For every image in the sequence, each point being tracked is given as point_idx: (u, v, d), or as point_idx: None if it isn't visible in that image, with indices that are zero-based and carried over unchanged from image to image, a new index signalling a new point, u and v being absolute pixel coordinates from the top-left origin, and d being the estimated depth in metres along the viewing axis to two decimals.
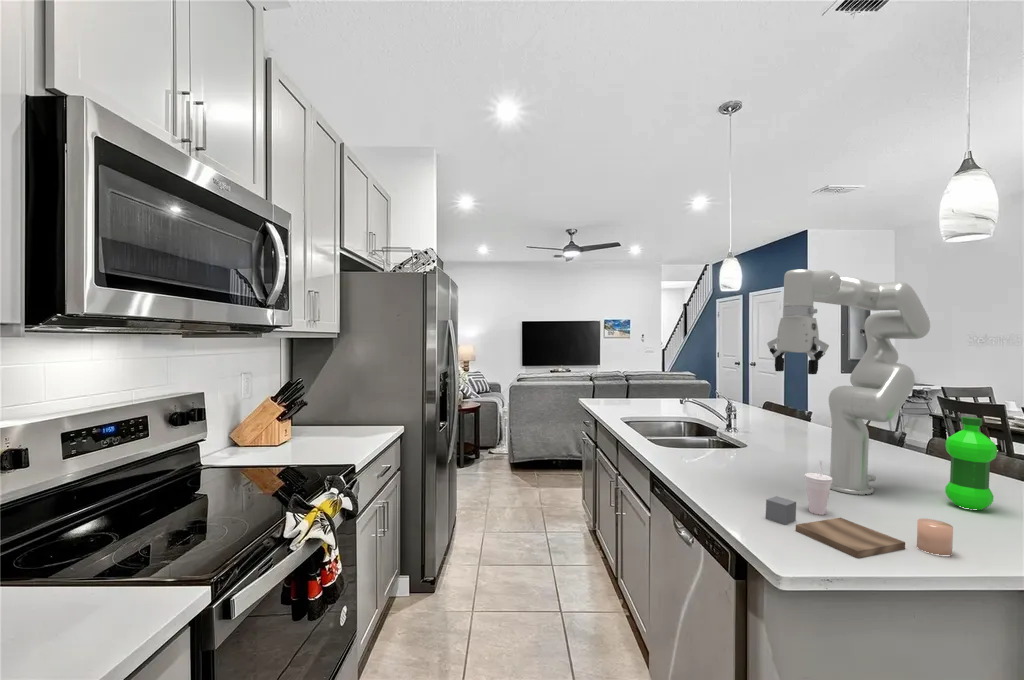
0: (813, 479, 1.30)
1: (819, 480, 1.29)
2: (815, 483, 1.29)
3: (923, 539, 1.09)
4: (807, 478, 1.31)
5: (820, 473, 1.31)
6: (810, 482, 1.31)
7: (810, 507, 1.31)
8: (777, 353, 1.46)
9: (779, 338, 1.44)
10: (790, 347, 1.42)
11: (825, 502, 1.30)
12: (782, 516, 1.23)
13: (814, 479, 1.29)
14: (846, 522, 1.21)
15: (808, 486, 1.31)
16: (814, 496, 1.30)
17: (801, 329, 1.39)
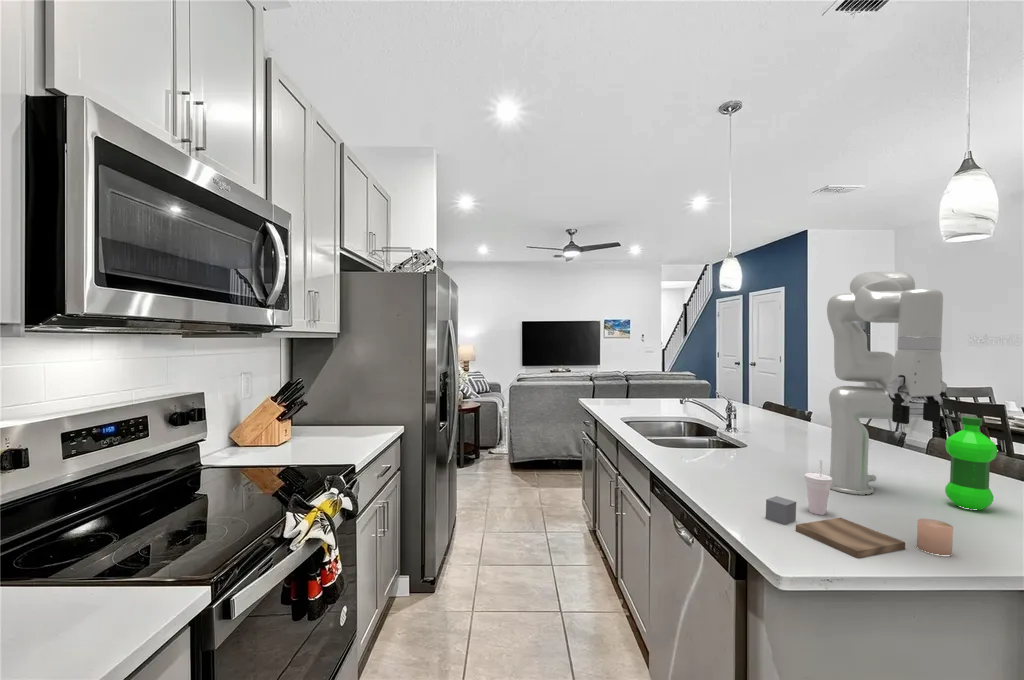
0: (813, 479, 1.30)
1: (819, 480, 1.29)
2: (815, 483, 1.29)
3: (923, 539, 1.09)
4: (807, 478, 1.31)
5: (820, 473, 1.31)
6: (810, 482, 1.31)
7: (810, 507, 1.31)
8: (908, 400, 1.07)
9: (916, 379, 1.07)
10: (925, 391, 1.08)
11: (825, 502, 1.30)
12: (782, 516, 1.23)
13: (814, 479, 1.29)
14: (846, 522, 1.21)
15: (808, 486, 1.31)
16: (814, 496, 1.30)
17: (938, 367, 1.08)
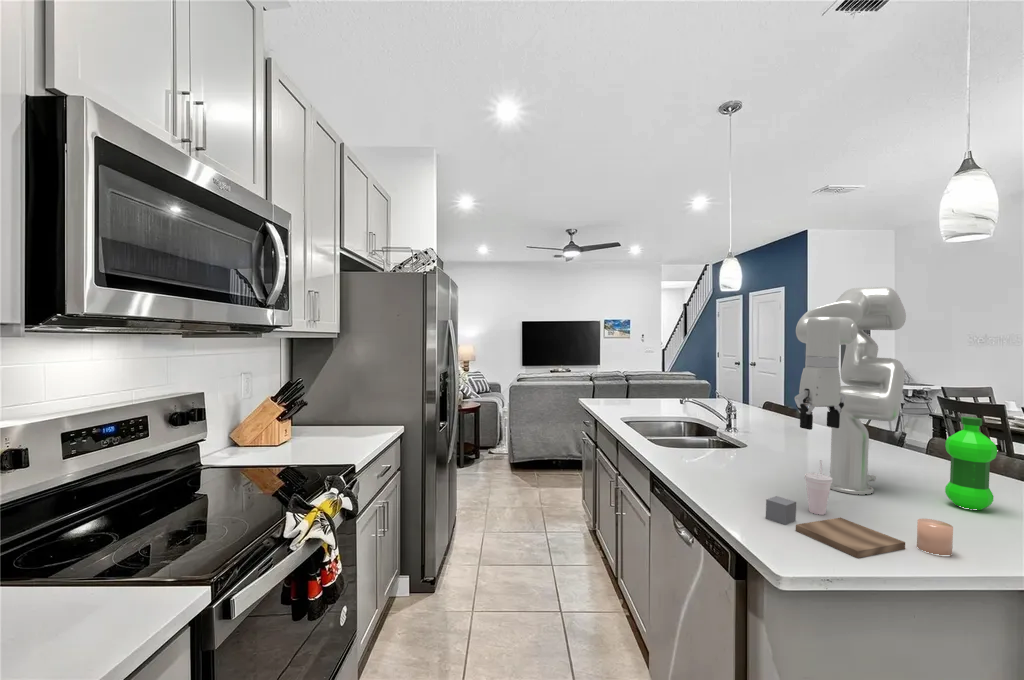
0: (813, 479, 1.30)
1: (819, 480, 1.29)
2: (815, 483, 1.29)
3: (923, 540, 1.09)
4: (807, 478, 1.31)
5: (820, 473, 1.31)
6: (810, 482, 1.31)
7: (810, 507, 1.31)
8: (811, 409, 1.28)
9: (818, 392, 1.28)
10: (826, 402, 1.29)
11: (825, 502, 1.30)
12: (782, 516, 1.23)
13: (814, 479, 1.29)
14: (846, 522, 1.21)
15: (808, 486, 1.31)
16: (814, 496, 1.30)
17: (837, 382, 1.30)
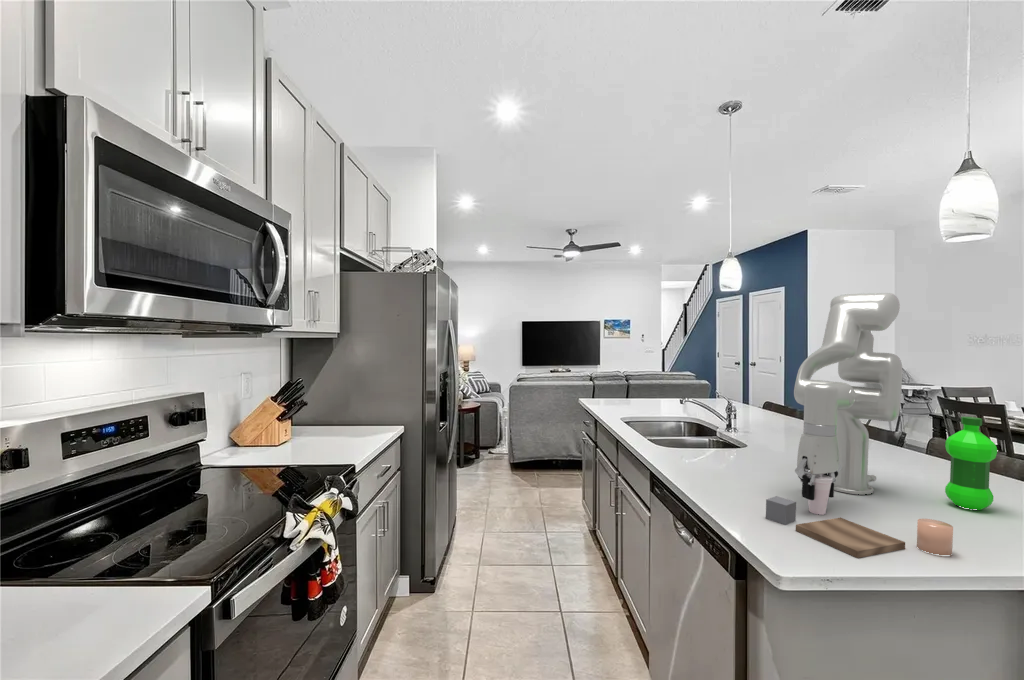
0: None
1: (819, 480, 1.29)
2: (815, 483, 1.29)
3: (923, 539, 1.09)
4: None
5: None
6: None
7: (810, 507, 1.31)
8: (812, 479, 1.29)
9: (815, 461, 1.28)
10: (824, 469, 1.29)
11: (825, 502, 1.30)
12: (782, 516, 1.23)
13: (814, 479, 1.29)
14: (846, 522, 1.21)
15: None
16: (814, 496, 1.30)
17: (834, 449, 1.30)
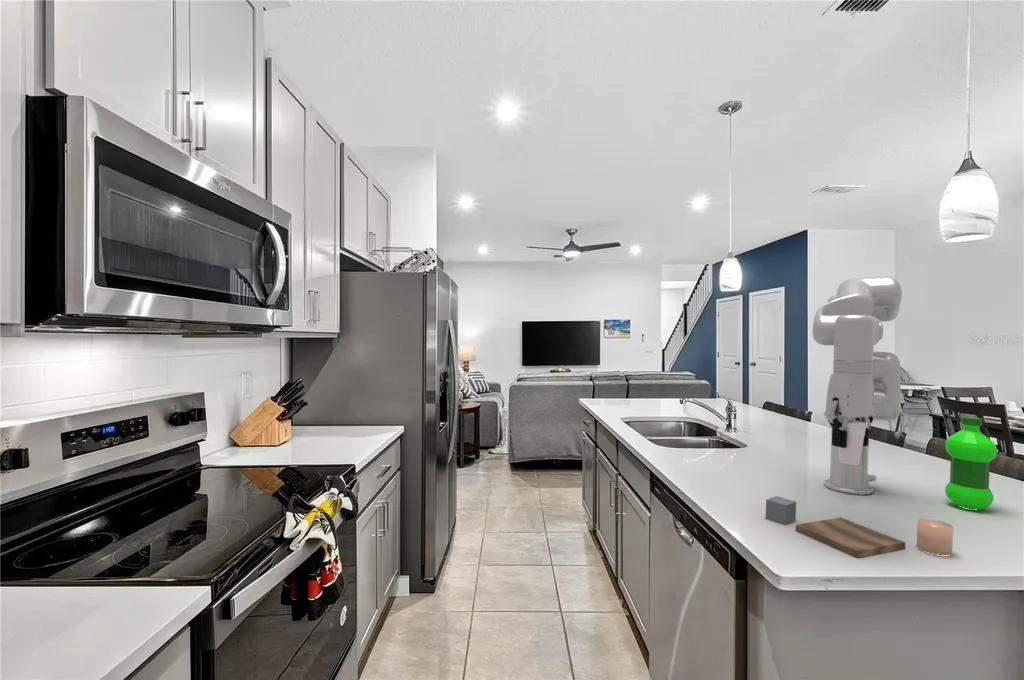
0: None
1: (852, 424, 1.12)
2: (848, 428, 1.13)
3: (923, 540, 1.09)
4: None
5: (853, 418, 1.14)
6: None
7: (841, 457, 1.15)
8: (845, 424, 1.12)
9: (848, 402, 1.11)
10: (858, 412, 1.13)
11: (859, 450, 1.13)
12: (782, 516, 1.23)
13: None
14: (846, 522, 1.21)
15: None
16: (847, 444, 1.13)
17: (870, 389, 1.13)
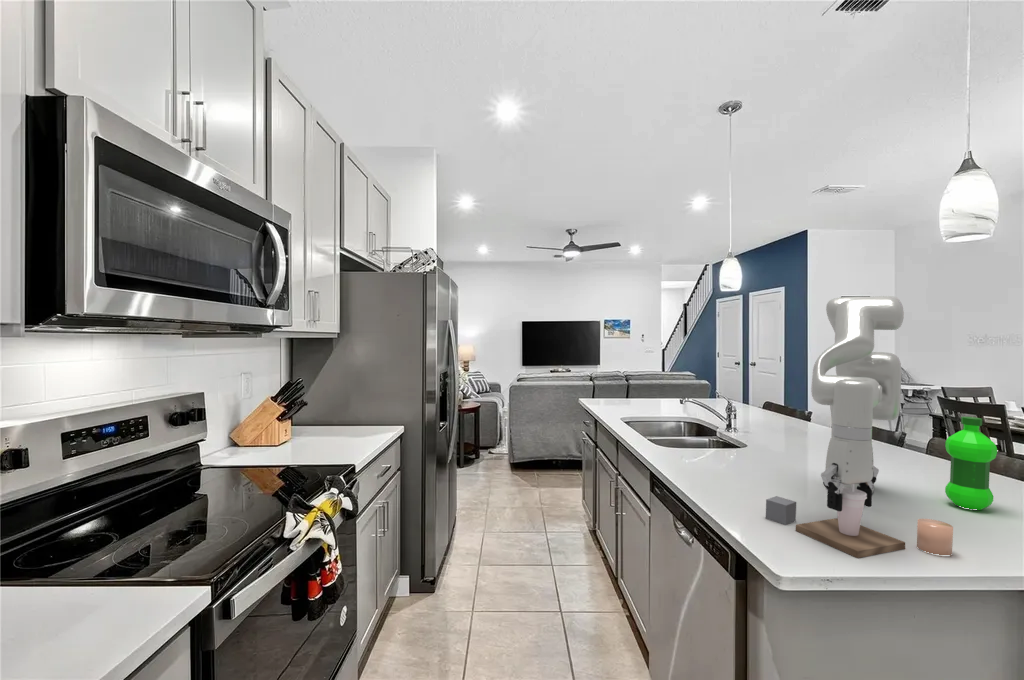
0: (845, 495, 1.13)
1: (852, 496, 1.12)
2: (847, 499, 1.13)
3: (923, 539, 1.09)
4: None
5: (852, 488, 1.14)
6: None
7: (841, 527, 1.15)
8: (841, 488, 1.11)
9: (848, 469, 1.11)
10: (857, 478, 1.12)
11: (858, 521, 1.13)
12: (782, 516, 1.23)
13: (846, 495, 1.13)
14: None
15: None
16: (846, 514, 1.13)
17: (869, 455, 1.13)
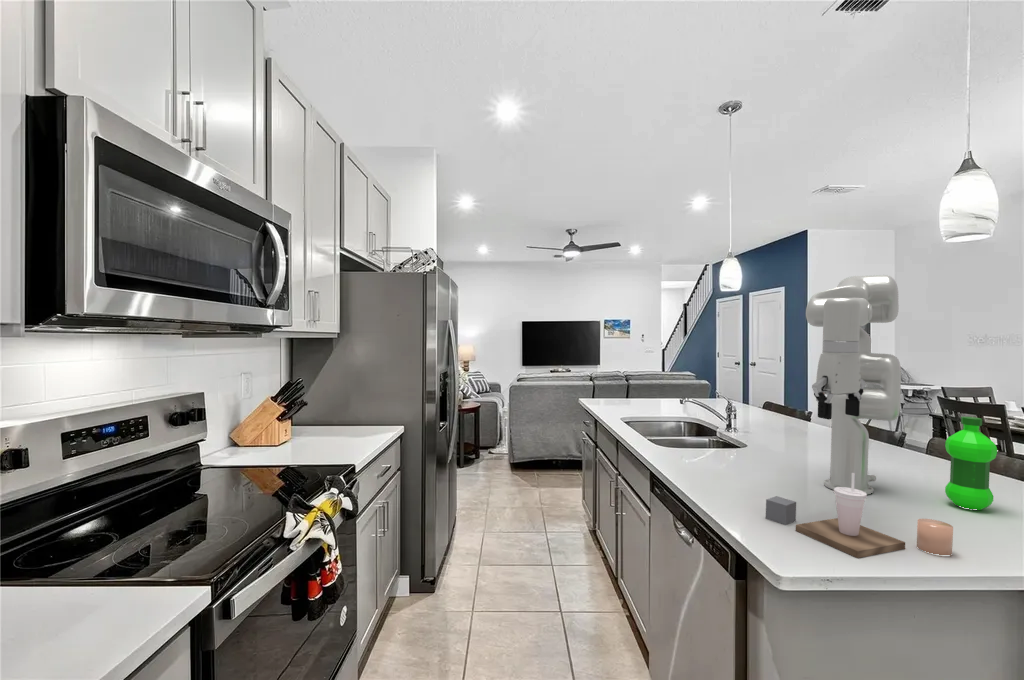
0: (845, 495, 1.13)
1: (852, 496, 1.12)
2: (847, 499, 1.13)
3: (923, 540, 1.09)
4: (837, 493, 1.14)
5: (852, 488, 1.14)
6: (841, 498, 1.14)
7: (841, 527, 1.15)
8: (830, 397, 1.20)
9: (837, 379, 1.19)
10: (846, 389, 1.21)
11: (858, 521, 1.13)
12: (782, 516, 1.23)
13: (846, 495, 1.13)
14: None
15: (838, 503, 1.14)
16: (846, 514, 1.13)
17: (856, 367, 1.21)
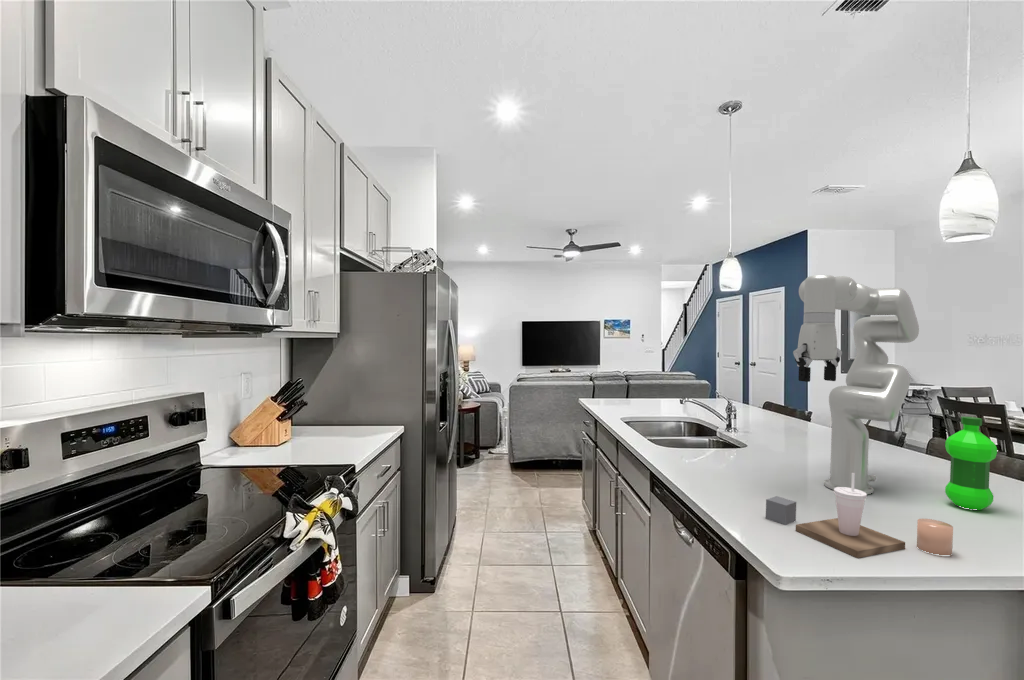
0: (845, 495, 1.13)
1: (852, 496, 1.12)
2: (847, 499, 1.13)
3: (923, 540, 1.09)
4: (837, 493, 1.14)
5: (852, 488, 1.14)
6: (841, 498, 1.14)
7: (841, 527, 1.15)
8: (809, 362, 1.36)
9: (815, 346, 1.35)
10: (823, 355, 1.36)
11: (858, 521, 1.13)
12: (782, 516, 1.23)
13: (846, 495, 1.13)
14: None
15: (838, 503, 1.14)
16: (846, 514, 1.13)
17: (833, 337, 1.37)
